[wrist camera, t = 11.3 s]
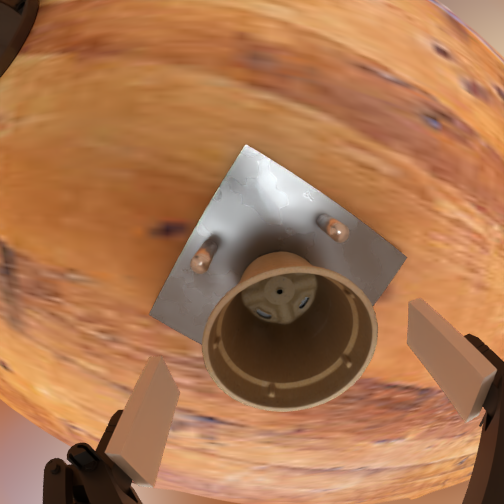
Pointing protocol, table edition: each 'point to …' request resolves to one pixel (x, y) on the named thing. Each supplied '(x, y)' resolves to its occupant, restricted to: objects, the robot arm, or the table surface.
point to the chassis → (268, 242)
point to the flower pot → (289, 335)
